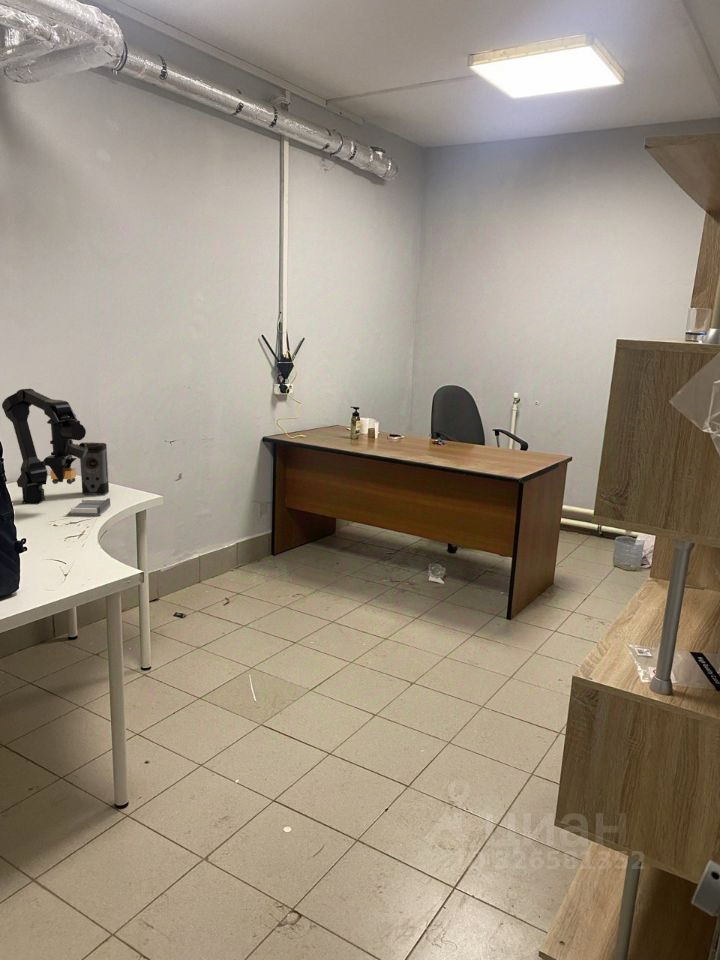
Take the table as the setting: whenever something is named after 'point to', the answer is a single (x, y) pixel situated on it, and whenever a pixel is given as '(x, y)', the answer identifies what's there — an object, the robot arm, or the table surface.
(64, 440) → the robot arm
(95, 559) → the table surface
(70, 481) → the trolley
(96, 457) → the electronic device
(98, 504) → the dock
